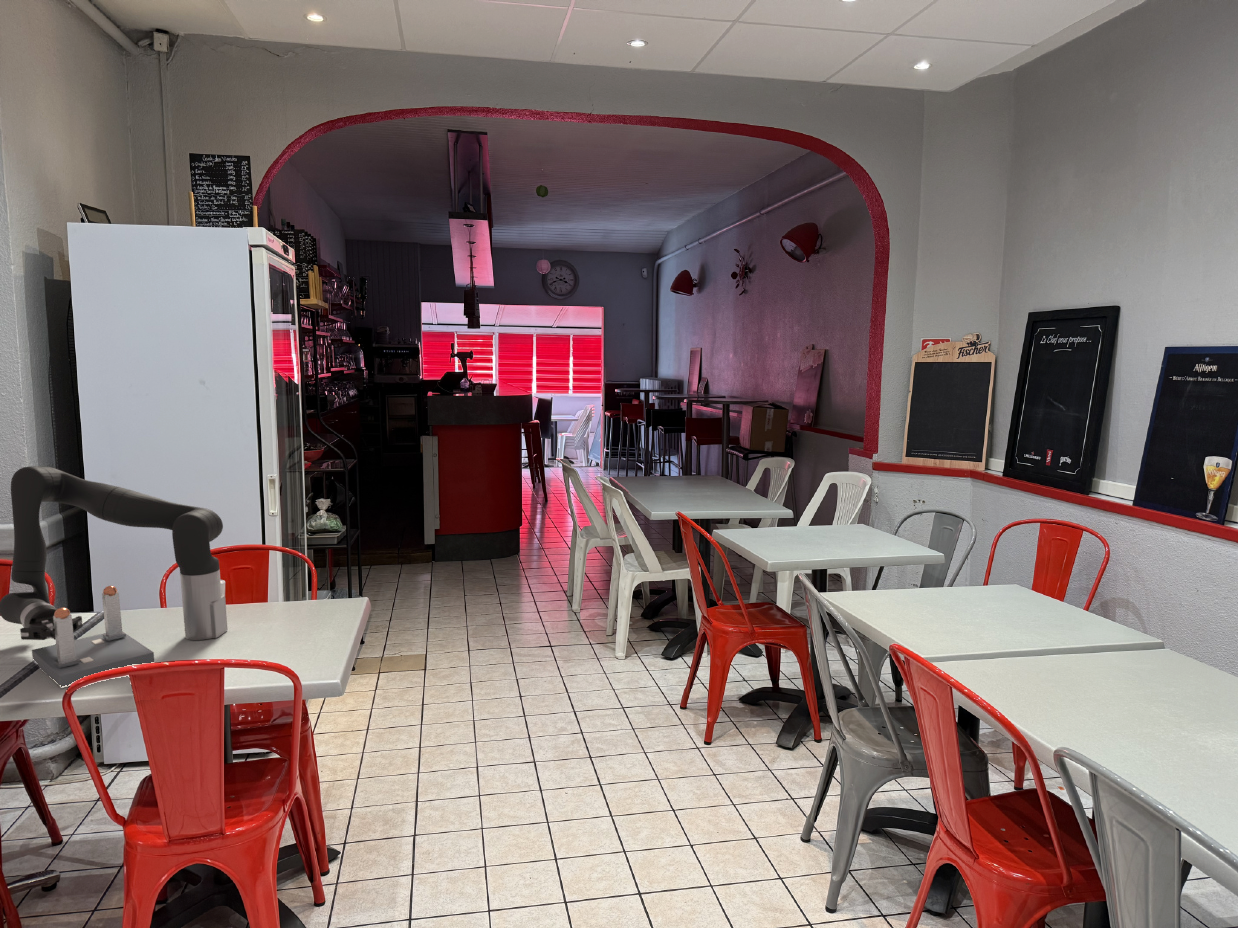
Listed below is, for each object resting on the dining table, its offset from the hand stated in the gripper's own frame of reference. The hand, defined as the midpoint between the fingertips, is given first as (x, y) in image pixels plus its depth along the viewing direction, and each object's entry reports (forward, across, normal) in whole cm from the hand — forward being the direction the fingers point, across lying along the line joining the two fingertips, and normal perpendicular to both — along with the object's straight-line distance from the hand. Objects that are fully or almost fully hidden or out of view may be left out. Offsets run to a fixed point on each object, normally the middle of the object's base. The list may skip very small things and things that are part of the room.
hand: (62, 635), depth 187 cm
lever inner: (-10, +13, +6) cm, 18 cm away
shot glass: (-29, +44, +10) cm, 54 cm away
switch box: (-4, +6, +10) cm, 12 cm away
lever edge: (+1, 0, +6) cm, 6 cm away
